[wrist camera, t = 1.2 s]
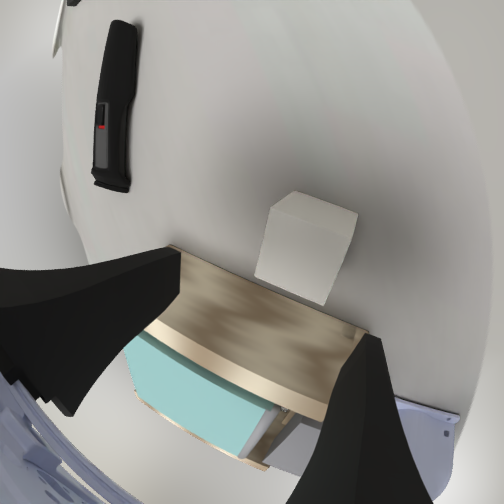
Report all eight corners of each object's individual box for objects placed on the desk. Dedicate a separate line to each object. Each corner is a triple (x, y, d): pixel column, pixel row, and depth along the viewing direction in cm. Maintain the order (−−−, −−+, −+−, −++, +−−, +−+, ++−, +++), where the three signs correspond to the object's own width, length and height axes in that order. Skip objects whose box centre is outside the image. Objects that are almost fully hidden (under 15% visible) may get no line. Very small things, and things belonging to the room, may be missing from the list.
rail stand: (369, 331, 17) (352, 413, 12) (296, 425, 26) (273, 474, 20) (169, 244, 22) (106, 284, 16) (171, 361, 31) (136, 398, 25)
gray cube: (358, 213, 15) (351, 238, 11) (336, 270, 17) (323, 306, 13) (294, 189, 16) (270, 207, 13) (279, 247, 18) (254, 276, 15)
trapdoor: (369, 402, 15) (359, 446, 12) (308, 453, 21) (296, 481, 18) (147, 296, 20) (115, 321, 17) (157, 376, 26) (137, 396, 23)
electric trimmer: (156, 21, 14) (127, 14, 12) (134, 193, 22) (106, 203, 20) (127, 28, 15) (99, 24, 13) (110, 184, 23) (84, 193, 21)
